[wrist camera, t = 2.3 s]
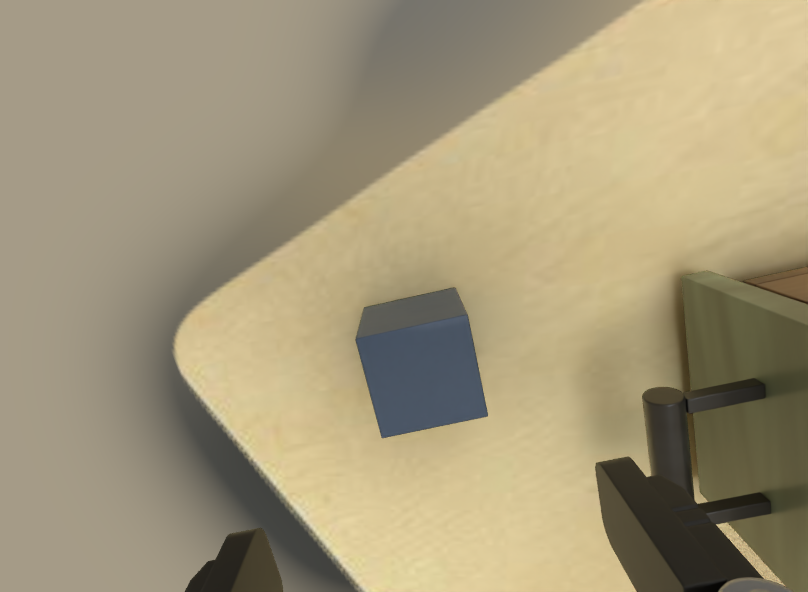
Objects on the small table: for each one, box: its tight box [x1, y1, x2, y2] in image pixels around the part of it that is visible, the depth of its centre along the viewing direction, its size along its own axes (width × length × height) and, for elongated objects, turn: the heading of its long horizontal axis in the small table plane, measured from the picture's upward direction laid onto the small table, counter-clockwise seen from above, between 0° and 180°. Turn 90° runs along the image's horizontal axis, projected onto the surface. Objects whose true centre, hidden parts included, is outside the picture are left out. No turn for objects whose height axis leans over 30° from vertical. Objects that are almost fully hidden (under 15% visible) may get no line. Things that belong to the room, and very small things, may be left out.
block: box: [356, 288, 488, 438], centre depth 21 cm, size 4×4×4 cm
